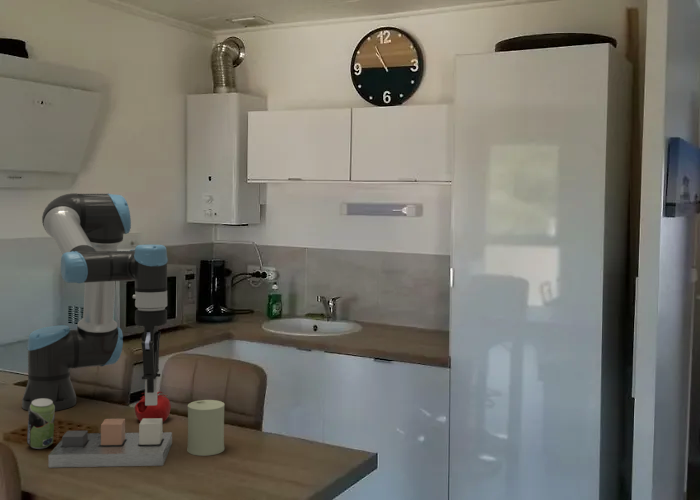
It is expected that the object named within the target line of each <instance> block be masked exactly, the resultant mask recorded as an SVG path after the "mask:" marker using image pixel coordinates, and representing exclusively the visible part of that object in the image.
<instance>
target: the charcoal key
mask: <svg viewBox="0 0 700 500" xmlns="http://www.w3.org/2000/svg"><path fill="white" fill-rule="evenodd" d="M88 432H89V431H88V430H66V432H65V433H64V434H63V436H62V438H61V440H62V447H85V446H86V444H87V443H88Z"/></svg>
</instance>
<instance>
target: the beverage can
mask: <svg viewBox="0 0 700 500" xmlns="http://www.w3.org/2000/svg"><path fill="white" fill-rule="evenodd" d="M55 415H56V414H55V406H54V404H53V401H52V400H50V399H46V398H40V399H35V400H33V401H32V403H31V405H30V406H29V411H28V417H27V439H26V441H27V442H26V444H27V445H28V446H29V447H31V448H32V449H35V450H36V449H37V450H43V449H46V448H48V447H50V446H51V445H52V444H53V443H54V434H55V433H54V432H55V430H54V429H55Z"/></svg>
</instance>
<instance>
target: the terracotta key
mask: <svg viewBox="0 0 700 500" xmlns="http://www.w3.org/2000/svg"><path fill="white" fill-rule="evenodd" d="M100 433H101V445H122V443H123V442H124V440H125V433H126V418H104V420H103V421H102V423H101V424H100Z"/></svg>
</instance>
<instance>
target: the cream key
mask: <svg viewBox="0 0 700 500" xmlns="http://www.w3.org/2000/svg"><path fill="white" fill-rule="evenodd" d="M139 422H140V423H138V426H139V428H138V429H139V431H138V433H139V445H145V444H160V442H161V440H162V432H163V422H162V418H143V419H142V420H141V421H139Z"/></svg>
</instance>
